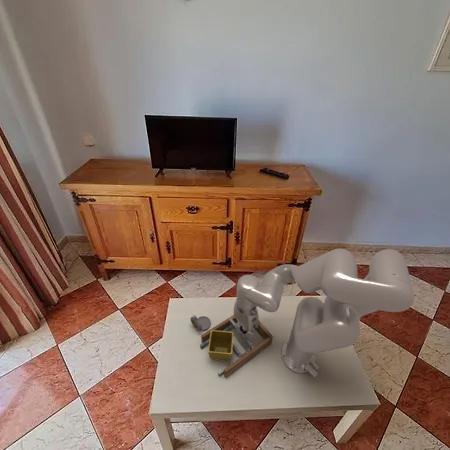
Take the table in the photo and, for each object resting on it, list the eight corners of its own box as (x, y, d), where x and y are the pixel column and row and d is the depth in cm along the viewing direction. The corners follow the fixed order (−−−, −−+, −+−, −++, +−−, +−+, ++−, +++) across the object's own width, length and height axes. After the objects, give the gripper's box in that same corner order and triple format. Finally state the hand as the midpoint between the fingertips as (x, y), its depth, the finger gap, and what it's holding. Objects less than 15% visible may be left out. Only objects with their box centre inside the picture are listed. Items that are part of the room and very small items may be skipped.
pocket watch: (212, 319, 114) (211, 304, 108) (207, 336, 107) (206, 322, 101) (194, 315, 115) (193, 301, 109) (188, 332, 109) (186, 318, 103)
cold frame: (271, 344, 105) (273, 336, 101) (225, 378, 94) (225, 370, 91) (245, 314, 116) (245, 305, 112) (201, 342, 105) (200, 333, 102)
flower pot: (233, 344, 105) (233, 331, 99) (231, 366, 98) (232, 354, 92) (211, 342, 105) (210, 329, 100) (208, 364, 98) (207, 352, 93)
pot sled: (251, 353, 101) (252, 344, 97) (219, 376, 94) (219, 367, 90) (230, 327, 110) (230, 317, 106) (200, 347, 103) (199, 337, 99)
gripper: (268, 313, 90) (262, 342, 101) (242, 285, 100) (239, 314, 111) (251, 324, 87) (247, 352, 98) (226, 294, 97) (225, 323, 108)
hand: (243, 332), depth 104 cm, fingers closed
